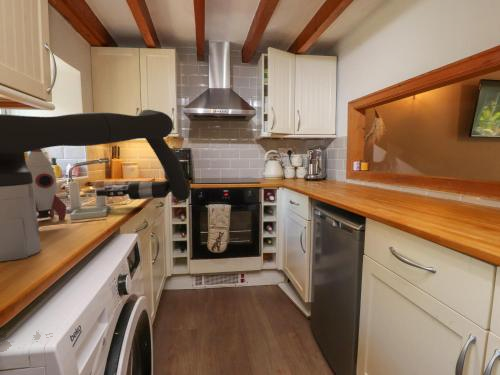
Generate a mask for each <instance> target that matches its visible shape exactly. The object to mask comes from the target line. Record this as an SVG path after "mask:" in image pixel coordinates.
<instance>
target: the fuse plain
mask: <svg viewBox="0 0 500 375" xmlns="http://www.w3.org/2000/svg"><path fill="white" fill-rule="evenodd" d="M67 187H68V196H69V208H71V213H72V212H73V211H74V210H75V209H80V208H82V204H81V203H82V202H81V192H80V191H81V190H80V184H79V181H68V182H67Z"/></svg>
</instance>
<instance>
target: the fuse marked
mask: <svg viewBox="0 0 500 375" xmlns="http://www.w3.org/2000/svg"><path fill="white" fill-rule="evenodd" d="M93 187H94V194H95V206H96V207H104V206H107V200H106V199H107V198H106V196H97V195H96V191H97V190H105V188H106V187H105V180H104V179H103V180H101V179H99V180H93Z"/></svg>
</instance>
